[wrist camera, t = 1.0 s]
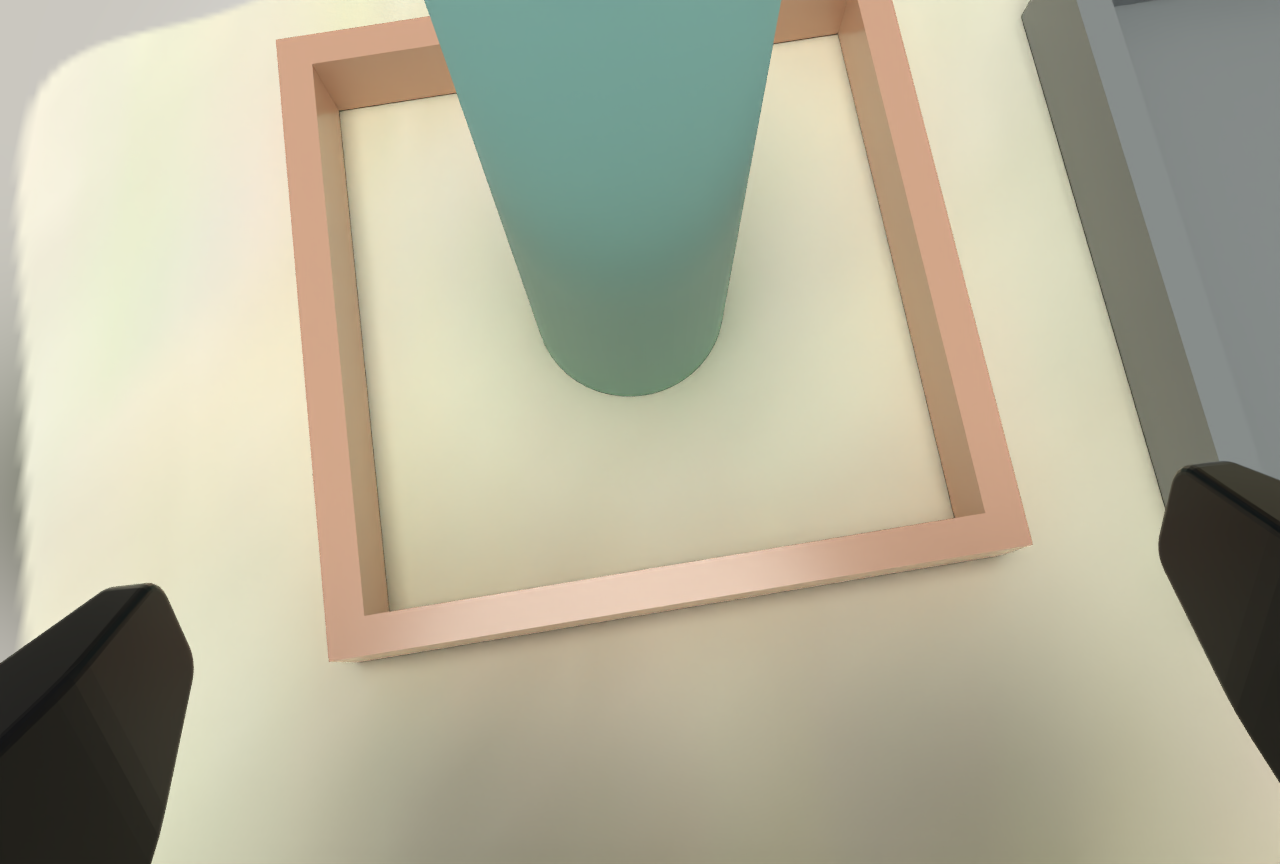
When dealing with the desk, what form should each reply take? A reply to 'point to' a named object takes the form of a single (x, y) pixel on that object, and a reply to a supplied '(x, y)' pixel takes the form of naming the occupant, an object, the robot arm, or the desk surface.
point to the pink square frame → (365, 629)
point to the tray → (1178, 207)
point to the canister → (616, 166)
